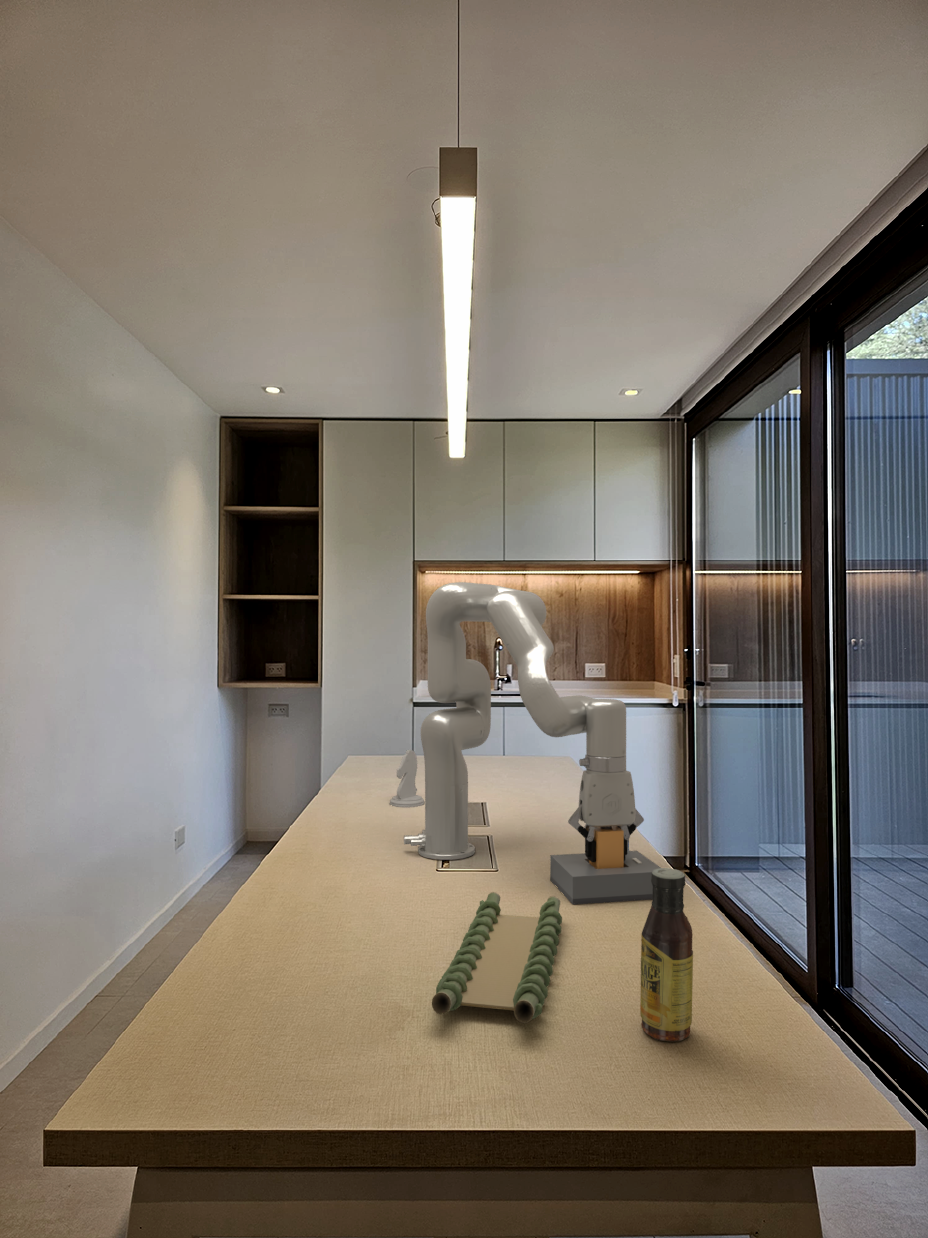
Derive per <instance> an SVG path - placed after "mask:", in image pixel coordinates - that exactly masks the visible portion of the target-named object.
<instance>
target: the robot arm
mask: <svg viewBox="0 0 928 1238" xmlns="http://www.w3.org/2000/svg"><path fill="white" fill-rule="evenodd" d="M546 606H547V605H546V604H545V602H544V601H543V599H542V598H541V597H540V596H539V595H538V594H537V593H534V592H532V591H526V590H520V589H515V588H510V587H505V586H502V585H501V586H500V585H495V584H491V583H490V584H488V583H477V582H476V583H475V582H468V581H467V582H466V581H462V582H461V581H459V582H448V583H447V584H443V585H441V586H439V587H437V589H436V590H434V591H433V593H432V594H431V595H430V597H429V599H428V601H427V604H426V607H425V608H426V610H425V623H426V632H427V691H428V694H429V696H430V698H431V699H432V700H433V701H435V702H437V703H441V704H453V703H456V707H452V708H444V709H438V710H434V711H433V712H431V713H429V714H428V715H427V716H426V717H425V718H424V720H423V721H422V723H421V726H420V741H421V747H422V751H423V758H424V793H425V794H424V829H422V831H421V832H420V833H418V834H417V835H412V834H411V835H410V834H409V835H408V834H407V835H403V844H404V845H410V846H411V847H413V846H414V847H417V846H418V847H417V853H418V854H419V855H420V856H421V857H424V858H427V859H432V860H441V861H445V860H446V861H453V860H461V859H466V858H469V857H471V856H473V855H474V854H475V851H476V846H475V845H474V844H472V843H470V842H469V771H468V767H467V766H468V765H467V763H466V760H465V758H464V755H463V753H462V752H463V751H464V750H470V749H474V748H478V747H480V746H482V745H483V744H484V743H485V742H486V741H487V740H488V738H489V736H490V732H491V721H492V720H491V719H492V717H491V716H492V709H491V708H492V683H491V682H492V681H491V678H490V674H489V672H488V670H487V668H486V667H485V665H484V664H483V663H481V662H480V661H478V660H476V659H469V658H468V659H467V653H466V652H467V640H466V636H465V633H464V631H463V628H462V627H461V623H462V622H478V623H479V622H481V623H482V622H483V623H484V622H485V623H486V622H487V623H491V624H492V626H493V627H494V630H495V631H496V633H497V634H498V636H499V638H500V640H501V641H502V643H503V644H504V646H505V648H506V649H507V651H508V653H509V655H510V656H511V659H513V661H514V663H515V665H516V667H517V684H518V690H519V695H520V699H521V701H522V703H523V704H524V707H525V708H526V710H527V712H528V714H529V716H530V717H531V718H532V721H533V722H534V723H535V724H536V726H537V727H538V729H539V730H540V731H541V732H543V734H545V735H547V736H549V737H552V738H563V737H568V736H572V735H579V734H586V735H585V736H586V739H585V741H586V746H585V749H586V751H585V752H586V753H585V757H583V758H579V761H578V762H579V766H580V767H584V768H585V770H583V771H582V775H581V776H582V777H581V779H580V780H581V781H580V787H579V795H578V807H577V808H576V809H575V811H574V812H573V813H572V815H571V816H570V817H569V818H568V820H567V823H568V824H569V825H570V826H571V827H573V828H574V829H575V830H576V831H577V832H578V833H579V834H580V835H581V836H582V837H583V838H584V853H585V855H586V857H587V858H588V859H589V860H590V861H591V862H596V842H595V841H594V835H595V831H596V828H597V827H607V826H617V827H619V828H620V829H622V830H623V831H624V861H625V855H627V840H628V839H629V840H630V839H631V835H632V834H633V833H634V832H635V831H636V829H637V827H639V826H640V825H642V824H643V822H644V821H645V819H644V817H643V815H641V813H640V812H639V811H638V810H637V808H636V799H635V798H636V797H635V789H634V782H633V777H632V773H631V771H629V770H627V706H626V704H625V703H624V702H623V701H622V700H619V699H612V698H593V697H588V696H586V695H568V696H567V695H566V696H559V694H558V693H557V691H556V689H555V688H554V686H553V685H552V683H551V680H550V678H549V676H548V673H547V662H548V660H549V659H550V658H551V656H553V653H554V649H555V646H554V644H553V642H552V640H551V639H550V637H548V634H547V633H546V632H545V630H544V628H543V625H544V623H545V621H546V619H547V613H548V612H547V607H546ZM579 821H582V822H584V823H585V824H584V826H582V824H580V822H579Z"/></svg>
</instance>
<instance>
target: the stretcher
mask: <svg viewBox="0 0 928 1238" xmlns="http://www.w3.org/2000/svg"><path fill="white" fill-rule="evenodd" d="M500 902H501V896H500V894H499V893H498V892H495V891H490V892H489V893H488V895H487V897H486V900H483V899H482V900H479V905H478V908H477V910H476V912H475V916H474V919H473V920H472V922H471V923H470V925H469V927H468V929H467V932H466V933H465V934H464V936H463V939H462V942H461V944H460V947H459V949H458V950H457V951H456V952H455V955H454V958H453V959H452V960H451V962H450V964H449V966H448V967H447V968H446V970H445V971H444V973H443V974H442V976H441V978H440V979H439V981H438V983H437V985H436V989H435V994H434V996H433V997H432V999H431V1008H432V1009H433V1011H434V1013H436V1014H438V1015H445V1014H447V1013H448V1012H450V1011H456V1010H457V1009H458V1008H459V1007H460V1006H464V1007H474V1008H475V1007H476V1008H483V1009H484V1008H485V1009H496V1010H505V1011H513V1015H514V1018H515V1020H517V1021H518V1022H519V1023H523V1024H525V1023H528V1022H530V1021H532V1020H533V1019H536V1018H537V1017H539V1016H540V1015H541V1014H542V1013H543V1006H544V1004H545V999H546V998H547V997H548V994H549V993H548V992H549V990H548V987H550V986H549V985H550V982H551V978H550V977H551V976H552V975H553V970H554V965H555V956H557V954H558V948H557V946H558V945H559V942H560V941H559V940H560V938H559V935H561V933H562V926H561V924H562V923H563V916H562V915H561V914H560V907H561V900H560V898H559V897H558V896H554V895H552V896H549V897H548V898H547V901H546V902H544V903H543V904H542V905H541V906H540V910H539V916H538V917H537V916H525V915H524V916H523V915H509V914H501V910H502V909H501V907H500Z"/></svg>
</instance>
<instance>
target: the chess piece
mask: <svg viewBox="0 0 928 1238" xmlns="http://www.w3.org/2000/svg"><path fill="white" fill-rule="evenodd" d="M417 773H418V758H417V754H416V753H415V751H414V750H412V749H408V750H406V751H405V753H404V754H403V755H402V758H401V760H400V765H399V766H398V768H397V769H396V778H398V779H401V780H400V782H399V784H398V786H397V790H396V795H394V796H391V797H392V798H390V800H389V805H390V806H391V805H392V806H391V807H395V808H415V807H416V808H417V807H422V806H425V798H423V797H422V796H421V795H419V794H417V791H418V788H417V786H416V777H417Z"/></svg>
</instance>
